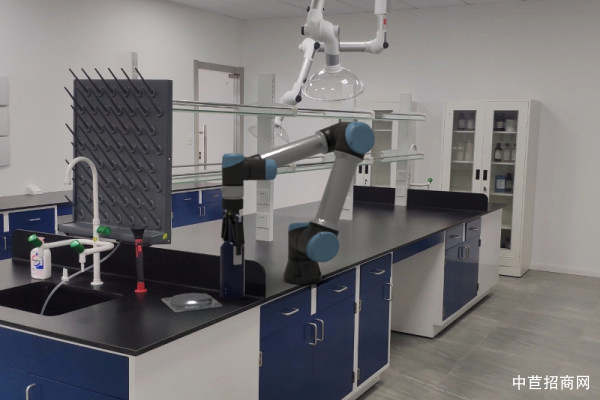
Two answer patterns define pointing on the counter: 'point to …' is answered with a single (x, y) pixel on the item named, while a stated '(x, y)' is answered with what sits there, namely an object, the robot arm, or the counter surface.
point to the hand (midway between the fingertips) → (232, 261)
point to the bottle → (231, 270)
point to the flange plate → (191, 302)
